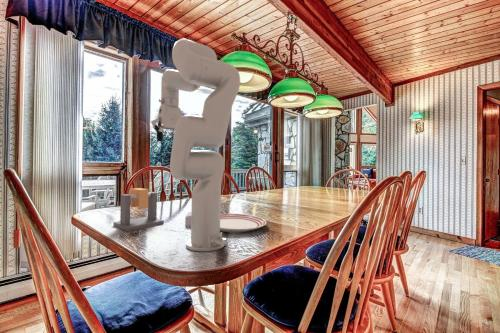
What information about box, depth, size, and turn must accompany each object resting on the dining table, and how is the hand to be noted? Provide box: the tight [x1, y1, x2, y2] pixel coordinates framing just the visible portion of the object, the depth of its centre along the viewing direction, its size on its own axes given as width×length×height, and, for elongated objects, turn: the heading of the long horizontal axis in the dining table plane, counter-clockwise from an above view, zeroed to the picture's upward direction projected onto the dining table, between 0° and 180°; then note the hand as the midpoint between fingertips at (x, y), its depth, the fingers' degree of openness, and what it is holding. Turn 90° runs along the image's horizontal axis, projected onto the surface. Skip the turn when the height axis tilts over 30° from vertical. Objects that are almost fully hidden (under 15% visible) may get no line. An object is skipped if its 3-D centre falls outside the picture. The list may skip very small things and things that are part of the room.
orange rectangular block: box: [130, 187, 149, 210], centre depth 108 cm, size 7×4×8 cm, turn 53°
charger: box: [184, 211, 192, 227], centre depth 115 cm, size 5×9×15 cm
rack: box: [113, 191, 165, 232], centre depth 108 cm, size 12×16×14 cm
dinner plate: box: [220, 213, 267, 233], centre depth 109 cm, size 28×27×3 cm
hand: (169, 142), depth 113 cm, fingers open, 9 cm apart
